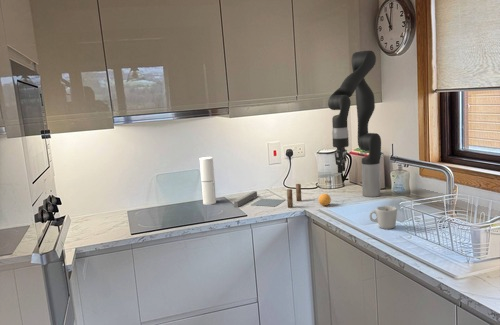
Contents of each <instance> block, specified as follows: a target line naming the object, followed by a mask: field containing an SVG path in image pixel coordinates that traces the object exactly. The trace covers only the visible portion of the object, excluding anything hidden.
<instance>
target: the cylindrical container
mask: <svg viewBox="0 0 500 325" xmlns="http://www.w3.org/2000/svg"><path fill="white" fill-rule="evenodd" d="M199 168H200V169H199V170H200V180H201V191H202V192H201V194H202V204H203V205H207V206H208V205H214V204H216V203H217V196H216V194H217V193H216V184H215V182H216V181H215V172H214V171H215V169H214V158H213V157H212V156H204V157H199Z"/></svg>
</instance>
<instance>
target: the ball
mask: <svg viewBox="0 0 500 325" xmlns="http://www.w3.org/2000/svg"><path fill="white" fill-rule="evenodd" d="M331 199H332V198H331V196H330V195H329V194H328V193H322V194H320V196H319V197H318V203H319V204H320V205H321V206H324V207H325V206H328V205H329V206H330V204H331V201H332V200H331Z"/></svg>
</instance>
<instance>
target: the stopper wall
mask: <svg viewBox="0 0 500 325" xmlns="http://www.w3.org/2000/svg"><path fill="white" fill-rule="evenodd" d="M257 197H258V191H255V190H253V191H251V192H250V193H248V194H245V195H244V196H242V197H240V198H238V199H236V200H234V201H233V205H234V208H240V207H241V206H242V205H243V206H244V205H245V204H246V203H248V202H250V201H251V200H252V201H253V199H256V198H257Z"/></svg>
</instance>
